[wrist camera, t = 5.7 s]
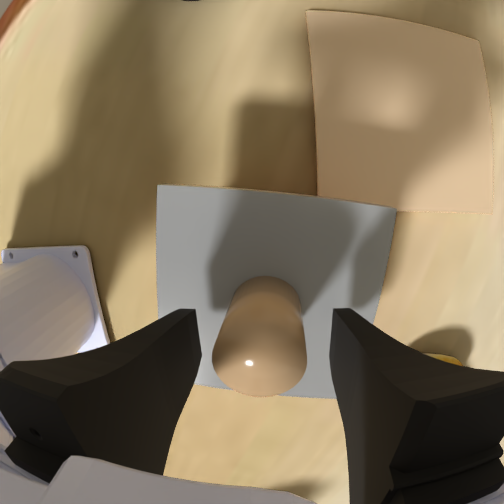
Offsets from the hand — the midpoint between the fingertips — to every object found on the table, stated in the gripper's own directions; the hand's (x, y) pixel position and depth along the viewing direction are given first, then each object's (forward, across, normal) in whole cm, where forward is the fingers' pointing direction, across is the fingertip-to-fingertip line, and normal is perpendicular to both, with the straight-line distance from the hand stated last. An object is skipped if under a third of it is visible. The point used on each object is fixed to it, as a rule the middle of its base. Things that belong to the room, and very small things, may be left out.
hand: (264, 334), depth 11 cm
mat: (+6, -8, -9) cm, 14 cm away
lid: (+2, 0, 0) cm, 2 cm away
